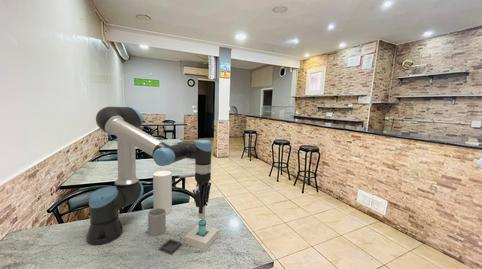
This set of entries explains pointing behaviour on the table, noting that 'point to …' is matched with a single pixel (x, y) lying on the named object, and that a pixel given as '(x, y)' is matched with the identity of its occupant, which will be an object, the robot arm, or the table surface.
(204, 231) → the plug
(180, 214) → the table surface
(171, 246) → the grey square socket
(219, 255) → the table surface
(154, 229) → the mug
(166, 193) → the tall pillar cylinder
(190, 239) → the port
